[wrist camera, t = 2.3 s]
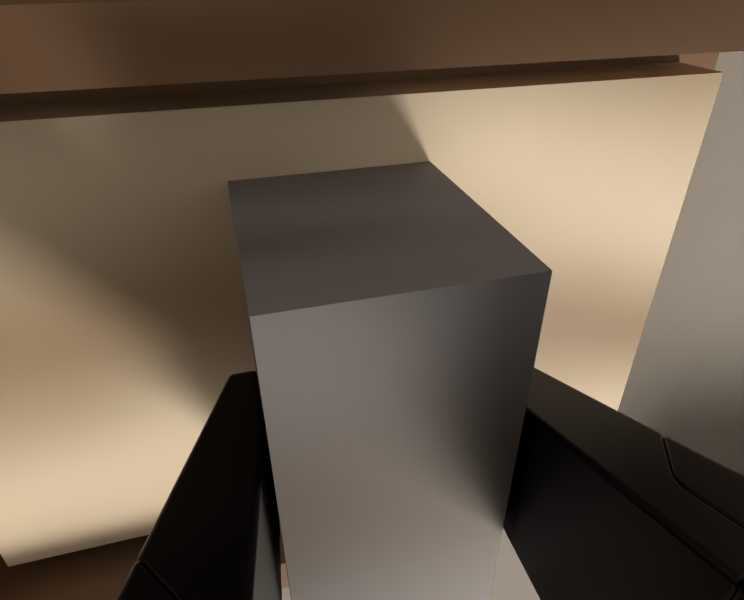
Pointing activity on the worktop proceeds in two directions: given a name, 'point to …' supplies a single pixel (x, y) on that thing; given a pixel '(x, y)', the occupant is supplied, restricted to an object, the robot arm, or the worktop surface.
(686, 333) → the worktop surface
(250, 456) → the robot arm
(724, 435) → the worktop surface
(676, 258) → the worktop surface
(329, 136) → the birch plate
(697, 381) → the worktop surface
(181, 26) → the walnut tray
